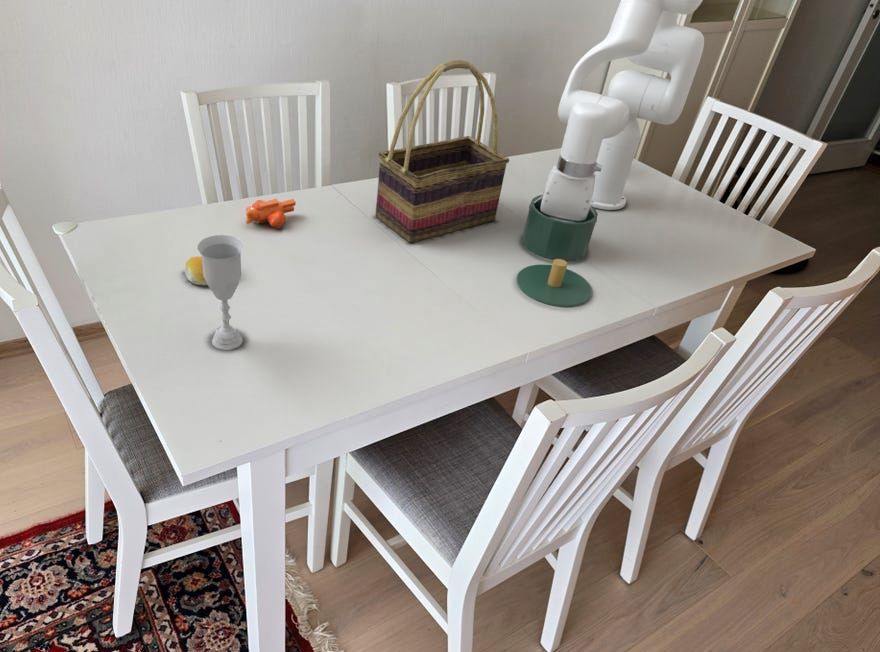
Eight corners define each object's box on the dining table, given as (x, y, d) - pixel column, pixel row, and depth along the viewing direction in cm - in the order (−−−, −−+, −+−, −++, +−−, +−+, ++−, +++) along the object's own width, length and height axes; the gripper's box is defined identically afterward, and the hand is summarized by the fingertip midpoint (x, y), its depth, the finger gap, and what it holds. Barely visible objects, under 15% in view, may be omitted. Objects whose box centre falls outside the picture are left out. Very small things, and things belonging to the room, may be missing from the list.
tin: (510, 246, 151) (519, 206, 145) (540, 225, 161) (549, 187, 155) (568, 270, 145) (580, 230, 139) (596, 247, 154) (608, 209, 149)
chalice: (209, 327, 117) (201, 233, 106) (249, 328, 118) (245, 236, 107) (203, 353, 111) (194, 257, 100) (245, 354, 112) (241, 259, 101)
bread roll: (240, 280, 130) (240, 262, 127) (194, 290, 125) (193, 272, 123) (224, 259, 135) (223, 242, 132) (179, 269, 130) (177, 251, 128)
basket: (408, 245, 147) (428, 77, 125) (370, 216, 155) (383, 55, 134) (499, 221, 160) (531, 66, 138) (459, 196, 169) (484, 46, 147)
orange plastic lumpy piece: (289, 188, 150) (240, 199, 143) (306, 211, 147) (257, 223, 141) (285, 205, 153) (237, 216, 147) (302, 228, 151) (254, 240, 144)
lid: (502, 287, 137) (508, 261, 133) (537, 261, 147) (544, 236, 143) (570, 318, 130) (578, 292, 127) (602, 288, 140) (610, 263, 137)
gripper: (617, 167, 143) (593, 244, 154) (536, 151, 145) (519, 228, 156) (617, 180, 137) (592, 259, 148) (533, 164, 139) (515, 242, 150)
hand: (554, 242), depth 152 cm, fingers closed on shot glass, 5 cm apart
